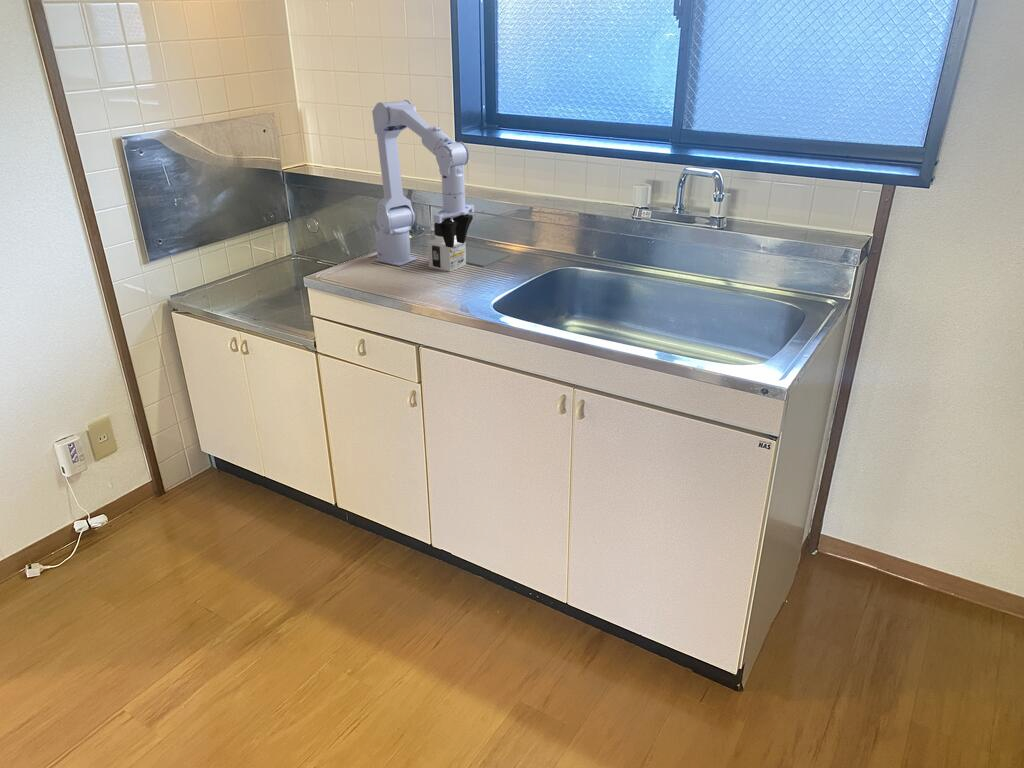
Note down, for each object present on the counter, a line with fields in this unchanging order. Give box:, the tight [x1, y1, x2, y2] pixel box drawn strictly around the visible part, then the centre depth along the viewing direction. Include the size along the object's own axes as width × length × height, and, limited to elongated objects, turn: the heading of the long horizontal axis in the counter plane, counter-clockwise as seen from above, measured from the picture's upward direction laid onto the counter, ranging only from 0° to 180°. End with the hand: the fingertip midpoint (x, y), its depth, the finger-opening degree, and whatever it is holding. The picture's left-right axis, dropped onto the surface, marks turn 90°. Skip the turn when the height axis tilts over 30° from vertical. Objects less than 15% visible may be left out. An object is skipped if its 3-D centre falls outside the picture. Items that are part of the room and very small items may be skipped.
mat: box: [465, 245, 511, 268], centre depth 229 cm, size 18×13×1 cm
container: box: [427, 219, 467, 273], centre depth 217 cm, size 8×8×13 cm
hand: (455, 244), depth 203 cm, fingers open, 4 cm apart
